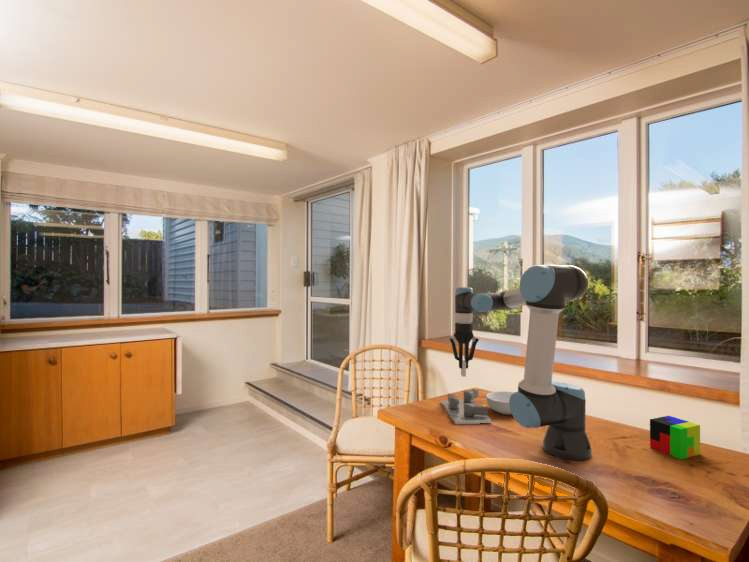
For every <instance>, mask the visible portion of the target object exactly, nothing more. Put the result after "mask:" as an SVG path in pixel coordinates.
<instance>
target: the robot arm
mask: <svg viewBox="0 0 749 562" xmlns="http://www.w3.org/2000/svg"><path fill="white" fill-rule="evenodd" d="M588 287H589V278H588V276H587V274H586V273H585V271H584V270H583V269H581V268H580V267H577V266H575V265H571V264H566V265H565V264H561V265H560V264H538V265H532V266H530V267H529V268H527V269H526V270H525V271H524V272H523V274H522V275H521V278H520V280H519V287H516V288H513V289H512V288H511V289H509V290H505V291H502V292H474V289H473V288H472V287H470V286H469V287H468V286H467V287H464V286H459V287H456V288H455V291H454V292H455V293H454V294H455V295H454V307H455V309H454V322H455V323H454V333H453V336H452V337H449V338H448V340H449V342H450V344H451V349H452V352H453V356H454V357H453V358H454V359H455V360H456V361H458V368H459V369H460V376H461V377H464V378H465V377H467V369H469V362H470V361H472V360H473V358H474V356H475V352H476V351H475V350H476V346H477V344H478V342H479V340H480V339H479V338H477V337H476V336H474V332H473V330H474V329H473V319H474V318H473V313H474V311H475V312H478V313H487V312H490V311H491V312H492V311H512V310H515V309H516V308H519V307H524V306H526V308H528V309H529V320H528V321H529V322H528V330H527V339H526V342H527V343H526V352H525V353H526V354H525V362H524V363H525V365H524V375H523V379H522V380H520V381H519V382H518V385H517V392H516V391H515V392H514V393H513V394H512V395H511V396H510V399H509V406H510V410H511V413H512V416H513V418H514V421H515V422H517V424H519V426H521V427H523V428H525V429H538V428H540V427H547V428H546V432H545V435H544V438H543V440H542V448H543V450H544V451H545V452H546V453H548V454H550V455H551V456H553V457H554V456H555V457H556V458H559V459H563V460H571V461H586V460H588V459H591V457H592V452H593V451H592V449H593V448H592V446H591V443H590V440H589V438H588V434H587V429H586V402H587V400H586V392H585V390H584V389H583V388H582V387H581V386H578V385H575V384H572V383H567V382H562V381H561V382H560V381H553V373H554V364H555V355H556V345H557V344H556V343H557V334H558V327H559V326H558V325H559V316H560V313H561V312H563V310H565V308H566V301H574V300H578V299H579V298H582V297H583V296H584V295H585V294H586V292H587V291H588ZM471 341H472V342H471ZM456 342H457V343H458V349H457V346H456ZM470 343H471V344H470ZM470 345H471V346H470ZM469 346H470V348H469ZM457 350H458V351H457ZM463 350H464V351H463ZM463 354H464V355H463ZM463 356H464V357H463Z"/></svg>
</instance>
